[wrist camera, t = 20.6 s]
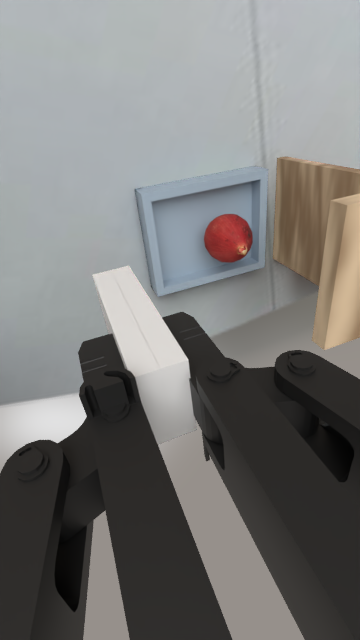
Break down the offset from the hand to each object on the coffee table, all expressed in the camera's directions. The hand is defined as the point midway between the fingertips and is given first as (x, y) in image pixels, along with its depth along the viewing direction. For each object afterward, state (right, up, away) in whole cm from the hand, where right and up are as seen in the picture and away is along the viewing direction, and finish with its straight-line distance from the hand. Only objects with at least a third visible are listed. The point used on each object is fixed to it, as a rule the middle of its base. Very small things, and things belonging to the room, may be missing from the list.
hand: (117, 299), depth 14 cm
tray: (+5, +11, +31) cm, 33 cm away
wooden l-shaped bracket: (+13, +13, +33) cm, 38 cm away
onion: (+7, +11, +31) cm, 33 cm away
